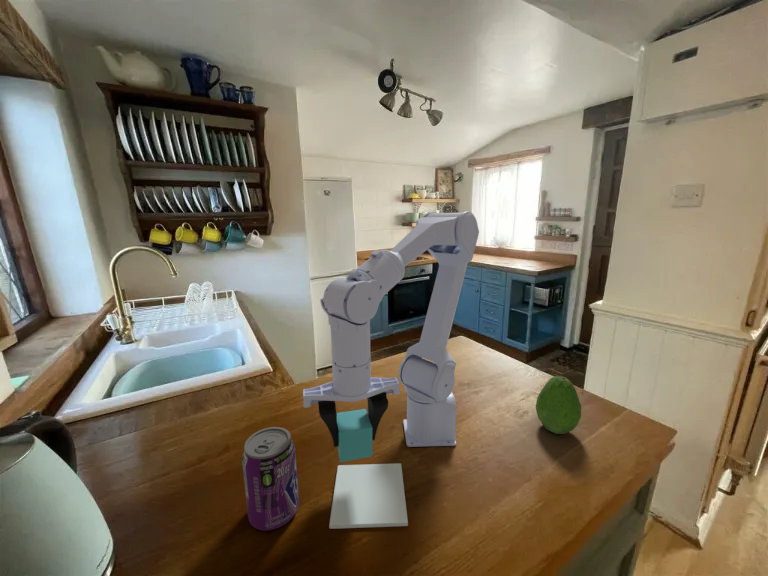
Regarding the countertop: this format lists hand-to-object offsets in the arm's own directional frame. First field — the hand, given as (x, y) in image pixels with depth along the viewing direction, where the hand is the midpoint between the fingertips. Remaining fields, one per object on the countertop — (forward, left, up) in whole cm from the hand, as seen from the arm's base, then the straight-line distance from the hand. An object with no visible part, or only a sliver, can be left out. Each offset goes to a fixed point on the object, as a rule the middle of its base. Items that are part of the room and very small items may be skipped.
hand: (353, 439), depth 50 cm
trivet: (-2, +2, -8) cm, 9 cm away
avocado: (-40, -12, -9) cm, 43 cm away
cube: (0, 0, -2) cm, 2 cm away
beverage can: (+12, +5, -9) cm, 15 cm away
